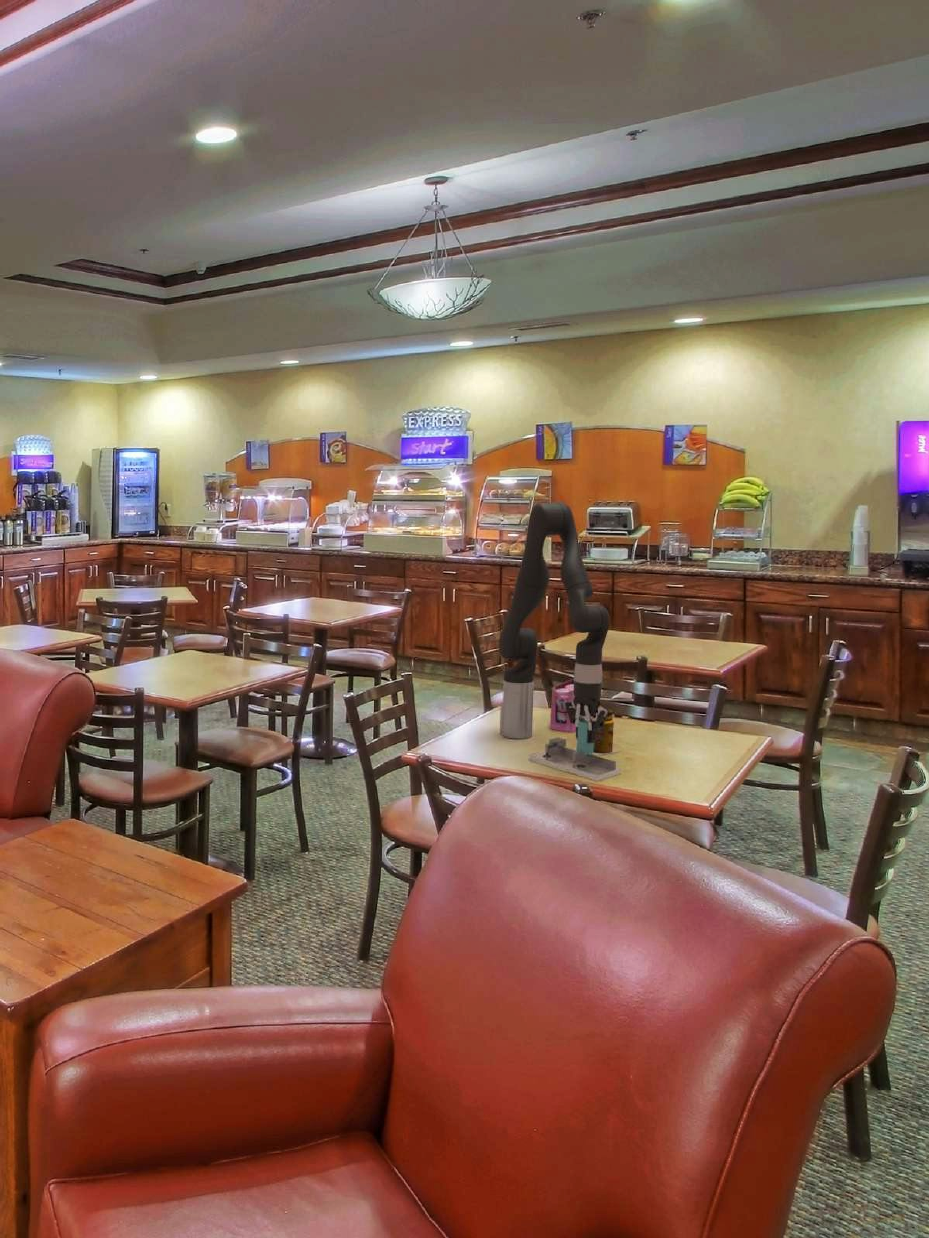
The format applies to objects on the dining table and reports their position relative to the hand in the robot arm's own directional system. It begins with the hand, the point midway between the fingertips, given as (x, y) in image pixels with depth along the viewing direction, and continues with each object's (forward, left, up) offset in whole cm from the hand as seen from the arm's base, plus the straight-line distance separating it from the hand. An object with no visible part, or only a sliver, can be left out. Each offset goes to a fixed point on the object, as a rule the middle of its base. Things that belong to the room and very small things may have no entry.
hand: (585, 741), depth 242 cm
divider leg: (0, -2, -5) cm, 5 cm away
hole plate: (-2, -3, -7) cm, 8 cm away
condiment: (-7, +15, -7) cm, 18 cm away
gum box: (-31, +35, -7) cm, 47 cm away
